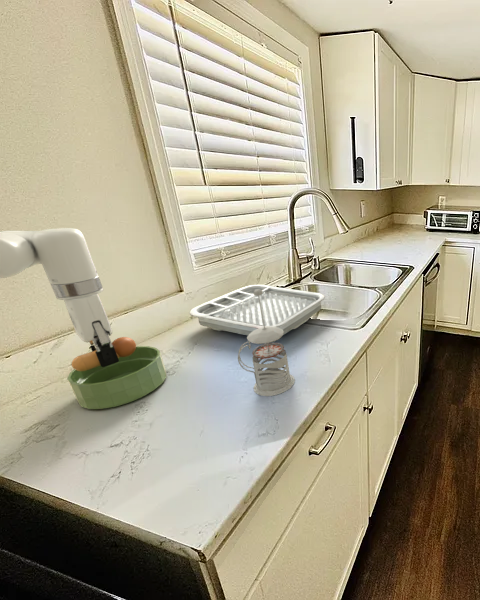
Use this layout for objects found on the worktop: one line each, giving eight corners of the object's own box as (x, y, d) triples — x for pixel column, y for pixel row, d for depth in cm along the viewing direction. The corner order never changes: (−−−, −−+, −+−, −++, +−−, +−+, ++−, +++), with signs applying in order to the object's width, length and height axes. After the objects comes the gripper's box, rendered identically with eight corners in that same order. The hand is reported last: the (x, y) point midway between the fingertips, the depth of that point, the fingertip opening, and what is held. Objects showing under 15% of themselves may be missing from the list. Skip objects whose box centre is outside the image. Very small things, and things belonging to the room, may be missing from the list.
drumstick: (77, 377, 71) (69, 358, 69) (72, 370, 73) (64, 351, 72) (141, 354, 79) (135, 337, 78) (135, 348, 82) (129, 331, 80)
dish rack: (276, 352, 96) (272, 328, 93) (186, 333, 108) (180, 311, 105) (332, 312, 123) (330, 292, 120) (256, 301, 135) (252, 282, 132)
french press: (296, 390, 78) (281, 293, 70) (243, 402, 75) (221, 300, 66) (293, 369, 87) (280, 280, 78) (246, 378, 83) (226, 286, 74)
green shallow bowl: (89, 422, 69) (77, 394, 67) (71, 392, 79) (60, 367, 76) (178, 383, 82) (170, 359, 79) (153, 362, 91) (145, 340, 89)
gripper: (46, 285, 72) (77, 357, 78) (62, 300, 62) (96, 381, 69) (91, 276, 77) (116, 344, 84) (112, 289, 68) (139, 365, 74)
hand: (107, 360), depth 76 cm, fingers closed on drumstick, 3 cm apart
